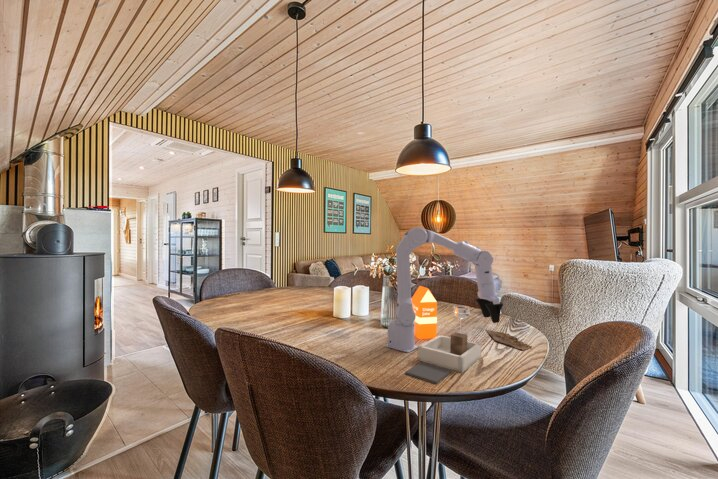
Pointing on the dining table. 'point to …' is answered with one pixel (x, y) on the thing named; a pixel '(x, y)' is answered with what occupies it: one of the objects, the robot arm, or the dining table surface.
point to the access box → (448, 354)
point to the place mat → (429, 372)
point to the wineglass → (461, 313)
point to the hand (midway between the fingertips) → (491, 319)
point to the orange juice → (425, 313)
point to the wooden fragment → (508, 340)
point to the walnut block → (458, 343)
